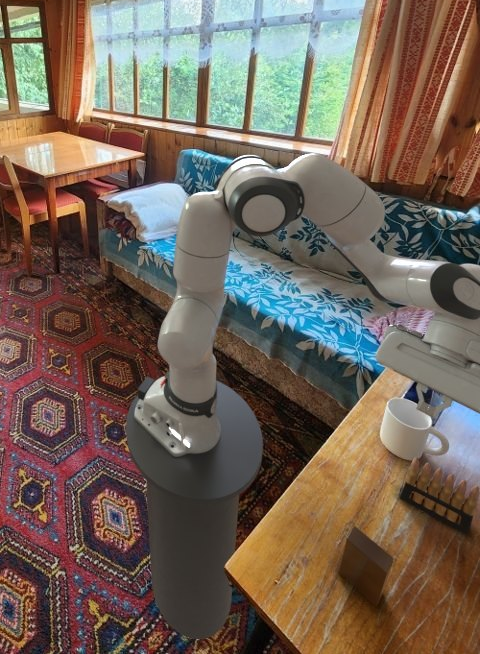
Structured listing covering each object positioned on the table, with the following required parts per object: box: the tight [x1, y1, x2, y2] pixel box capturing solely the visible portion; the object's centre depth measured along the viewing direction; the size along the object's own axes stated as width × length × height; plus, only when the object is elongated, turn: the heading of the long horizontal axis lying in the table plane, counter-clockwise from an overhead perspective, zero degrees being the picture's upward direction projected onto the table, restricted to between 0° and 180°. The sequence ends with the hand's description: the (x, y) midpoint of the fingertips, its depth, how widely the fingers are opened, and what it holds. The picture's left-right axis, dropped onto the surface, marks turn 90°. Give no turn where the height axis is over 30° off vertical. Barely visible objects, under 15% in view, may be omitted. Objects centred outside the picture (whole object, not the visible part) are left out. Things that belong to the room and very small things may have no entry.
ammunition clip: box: [398, 457, 480, 535], centre depth 72 cm, size 11×2×12 cm, turn 51°
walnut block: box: [338, 525, 394, 608], centre depth 63 cm, size 6×3×10 cm, turn 38°
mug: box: [379, 397, 450, 461], centre depth 84 cm, size 12×8×10 cm
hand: (425, 414), depth 67 cm, fingers closed
